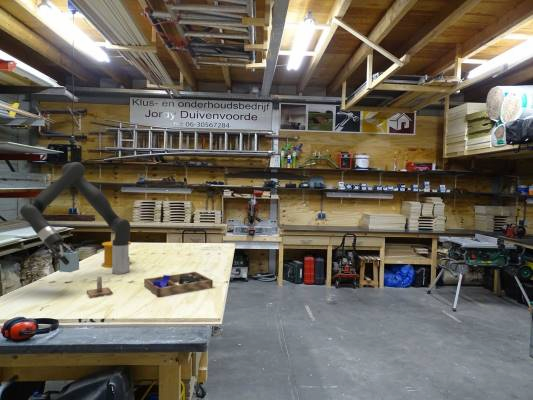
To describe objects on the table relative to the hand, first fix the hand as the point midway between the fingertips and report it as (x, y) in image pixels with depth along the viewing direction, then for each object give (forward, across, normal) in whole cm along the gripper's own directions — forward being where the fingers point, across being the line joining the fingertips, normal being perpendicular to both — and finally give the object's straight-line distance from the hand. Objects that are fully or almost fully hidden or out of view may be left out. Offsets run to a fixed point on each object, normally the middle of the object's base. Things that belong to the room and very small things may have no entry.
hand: (72, 262), depth 169 cm
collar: (+2, 0, +4) cm, 5 cm away
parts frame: (+43, +20, -21) cm, 52 cm away
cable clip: (+39, +14, -17) cm, 45 cm away
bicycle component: (+48, +26, -25) cm, 61 cm away
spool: (+1, +61, +22) cm, 64 cm away
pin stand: (+20, +2, +2) cm, 20 cm away
